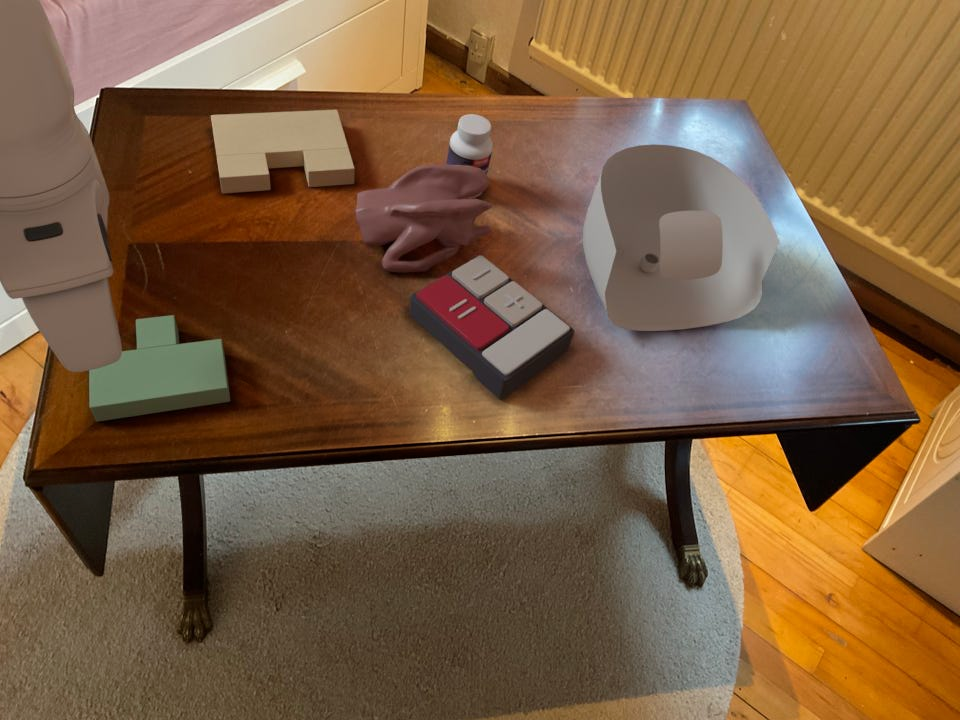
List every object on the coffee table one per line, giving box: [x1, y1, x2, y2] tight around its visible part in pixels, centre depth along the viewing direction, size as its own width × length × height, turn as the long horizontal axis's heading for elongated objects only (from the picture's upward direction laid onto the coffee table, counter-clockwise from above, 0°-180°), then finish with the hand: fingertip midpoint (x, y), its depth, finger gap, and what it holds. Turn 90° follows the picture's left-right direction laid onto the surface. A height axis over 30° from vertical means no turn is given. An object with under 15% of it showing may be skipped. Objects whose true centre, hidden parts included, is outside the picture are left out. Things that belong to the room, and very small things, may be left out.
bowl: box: [582, 143, 780, 332], centre depth 88 cm, size 20×19×12 cm
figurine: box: [354, 163, 494, 274], centre depth 87 cm, size 12×10×15 cm
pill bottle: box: [445, 113, 494, 199], centre depth 93 cm, size 5×5×10 cm
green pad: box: [88, 314, 231, 422], centre depth 72 cm, size 12×10×2 cm
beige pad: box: [210, 109, 356, 194], centre depth 94 cm, size 16×12×2 cm
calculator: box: [408, 254, 575, 401], centre depth 81 cm, size 11×4×15 cm
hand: (89, 314), depth 62 cm, fingers open, 8 cm apart
